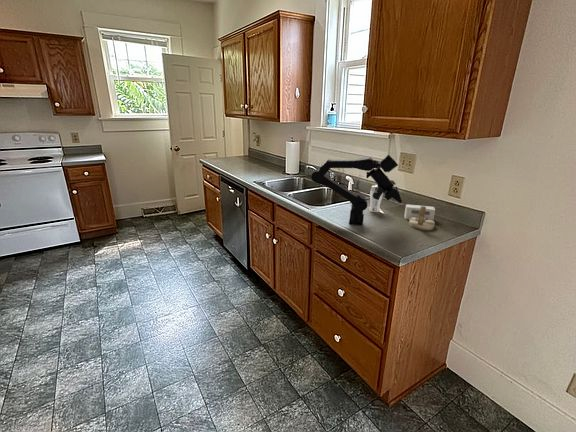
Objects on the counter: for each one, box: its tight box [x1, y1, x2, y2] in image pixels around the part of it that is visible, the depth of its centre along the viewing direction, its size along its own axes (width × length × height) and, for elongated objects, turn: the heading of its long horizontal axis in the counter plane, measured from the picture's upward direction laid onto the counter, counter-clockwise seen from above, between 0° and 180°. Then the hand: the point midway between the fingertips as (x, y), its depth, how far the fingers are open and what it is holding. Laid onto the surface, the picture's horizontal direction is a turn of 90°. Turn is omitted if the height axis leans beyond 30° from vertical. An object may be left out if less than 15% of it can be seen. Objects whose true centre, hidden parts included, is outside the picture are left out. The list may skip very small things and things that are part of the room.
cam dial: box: [408, 205, 436, 231], centre depth 158 cm, size 12×12×12 cm
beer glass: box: [368, 183, 384, 214], centre depth 178 cm, size 7×7×15 cm
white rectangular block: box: [403, 203, 436, 221], centre depth 168 cm, size 14×6×7 cm, turn 77°
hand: (401, 202), depth 154 cm, fingers closed
